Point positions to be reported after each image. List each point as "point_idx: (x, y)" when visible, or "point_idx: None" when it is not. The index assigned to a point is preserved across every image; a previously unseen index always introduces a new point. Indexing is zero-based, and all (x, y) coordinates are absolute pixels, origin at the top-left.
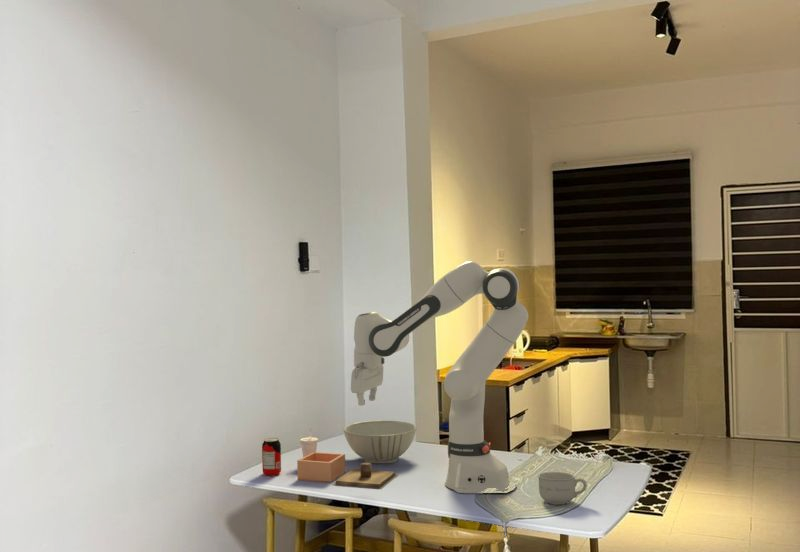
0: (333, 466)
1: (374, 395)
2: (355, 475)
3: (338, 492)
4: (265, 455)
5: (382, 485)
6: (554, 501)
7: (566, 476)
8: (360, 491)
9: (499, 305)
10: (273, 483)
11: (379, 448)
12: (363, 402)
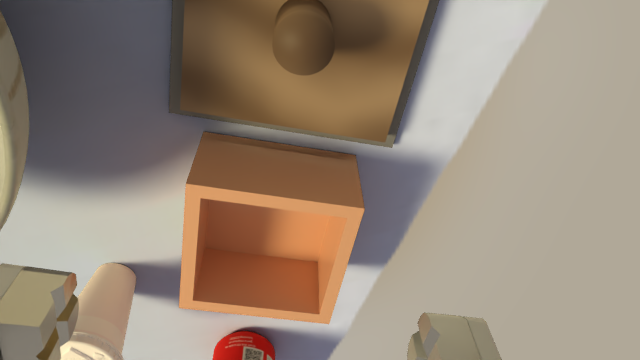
0: (329, 188)
1: (4, 321)
2: (296, 78)
3: (467, 102)
4: None
5: None
6: None
7: None
8: (461, 12)
9: None
10: (349, 316)
11: (3, 20)
12: (490, 345)
